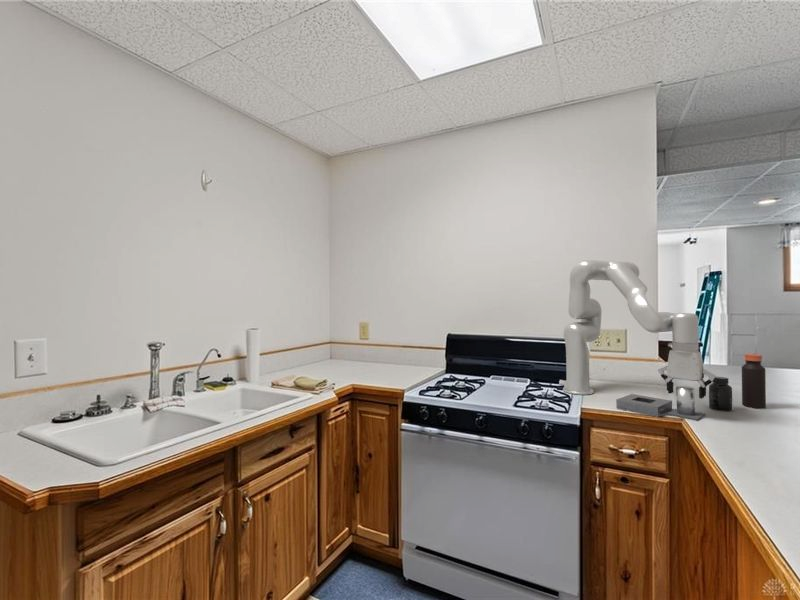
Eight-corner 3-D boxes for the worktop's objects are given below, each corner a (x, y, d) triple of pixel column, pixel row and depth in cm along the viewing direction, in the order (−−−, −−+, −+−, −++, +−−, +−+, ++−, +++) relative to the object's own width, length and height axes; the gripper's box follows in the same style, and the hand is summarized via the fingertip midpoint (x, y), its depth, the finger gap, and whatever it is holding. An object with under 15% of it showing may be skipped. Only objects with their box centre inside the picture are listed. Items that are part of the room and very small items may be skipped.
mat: (666, 414, 140) (666, 413, 140) (675, 410, 145) (675, 408, 145) (697, 420, 133) (697, 419, 133) (705, 415, 138) (705, 414, 138)
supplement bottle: (736, 412, 142) (736, 379, 142) (715, 411, 144) (715, 379, 144) (725, 407, 149) (724, 376, 149) (705, 406, 150) (704, 375, 150)
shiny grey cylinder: (674, 413, 140) (673, 387, 140) (679, 410, 143) (679, 385, 143) (692, 416, 135) (691, 389, 135) (697, 413, 139) (696, 387, 139)
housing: (616, 408, 148) (616, 399, 148) (631, 402, 157) (631, 393, 157) (657, 417, 137) (657, 407, 137) (672, 409, 146) (672, 400, 146)
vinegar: (770, 409, 145) (769, 356, 145) (749, 408, 147) (748, 355, 147) (757, 404, 152) (757, 353, 152) (737, 403, 153) (737, 353, 153)
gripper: (653, 346, 144) (654, 392, 144) (712, 350, 130) (712, 402, 130) (661, 344, 148) (662, 389, 148) (718, 348, 134) (719, 398, 134)
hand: (685, 395), depth 139 cm, fingers open, 9 cm apart
